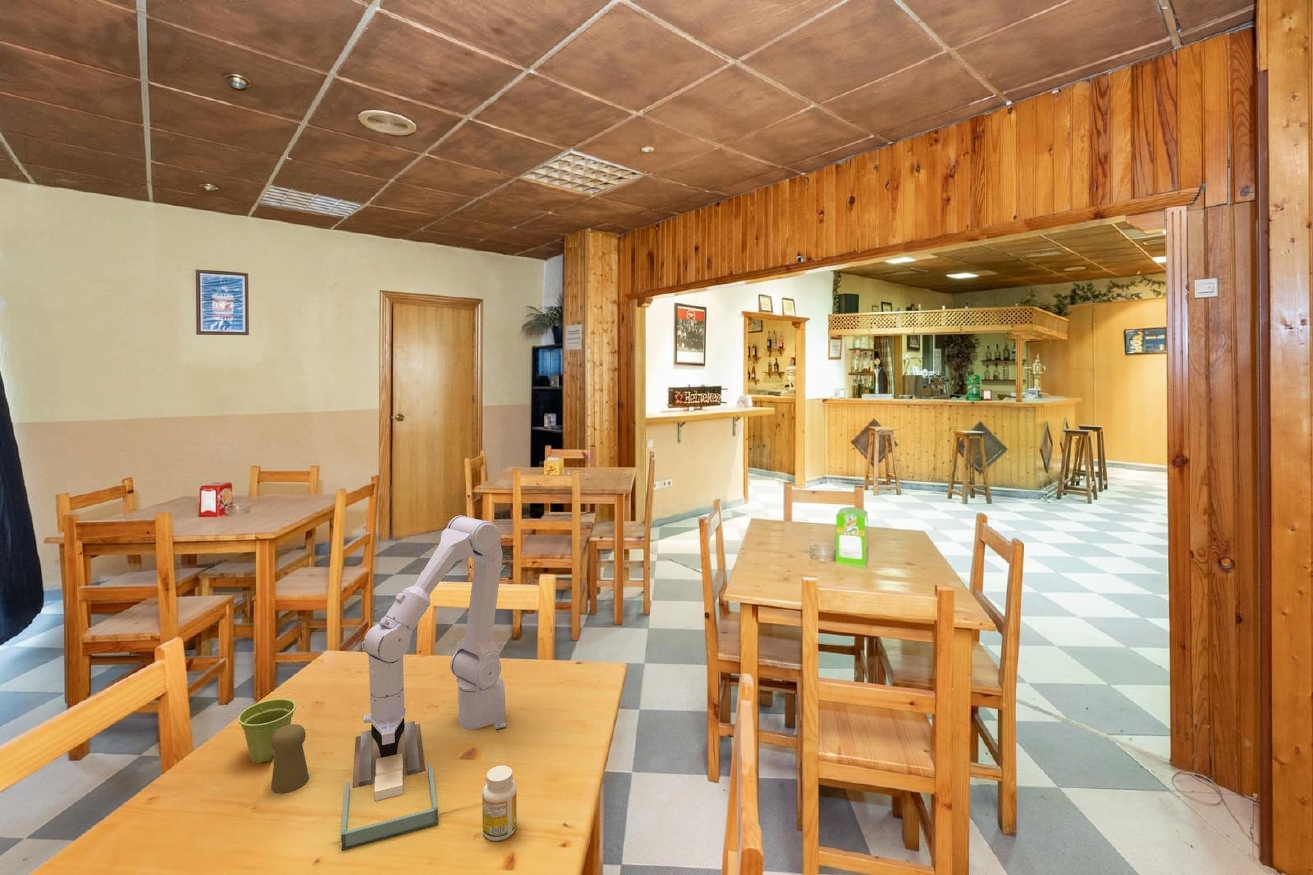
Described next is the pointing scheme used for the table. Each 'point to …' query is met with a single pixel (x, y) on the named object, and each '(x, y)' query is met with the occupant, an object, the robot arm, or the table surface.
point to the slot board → (370, 752)
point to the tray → (388, 822)
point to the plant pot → (265, 726)
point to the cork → (289, 759)
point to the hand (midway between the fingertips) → (389, 760)
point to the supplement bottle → (499, 804)
